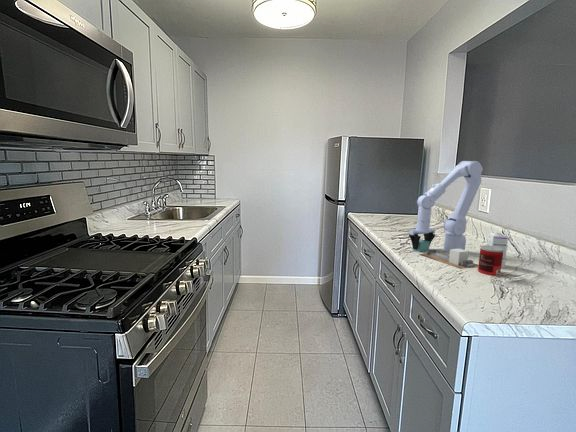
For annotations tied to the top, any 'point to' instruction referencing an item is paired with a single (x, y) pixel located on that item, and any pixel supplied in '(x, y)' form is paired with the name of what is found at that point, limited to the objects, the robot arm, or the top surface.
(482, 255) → the canned food
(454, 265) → the mounting board
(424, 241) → the teal module
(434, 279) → the top surface
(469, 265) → the steel rail
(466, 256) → the grey module
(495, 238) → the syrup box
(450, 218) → the robot arm
